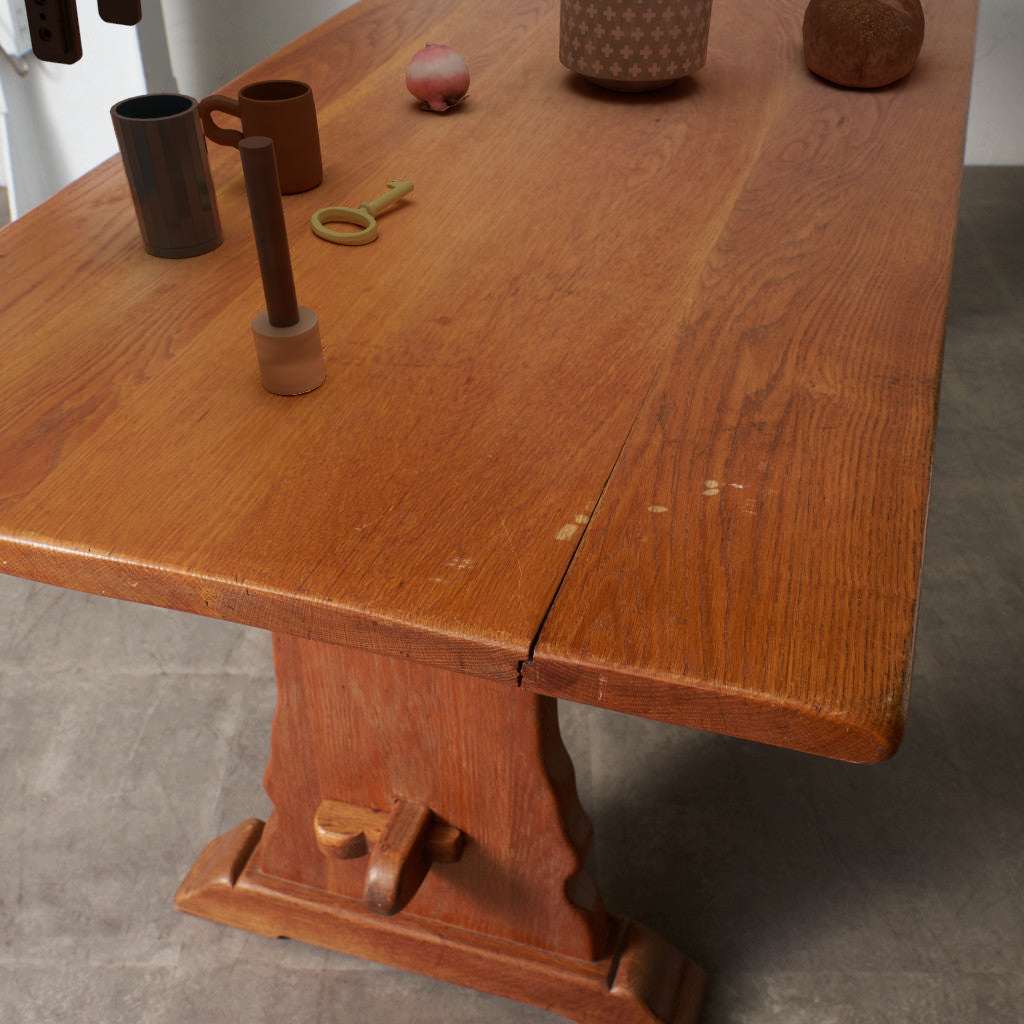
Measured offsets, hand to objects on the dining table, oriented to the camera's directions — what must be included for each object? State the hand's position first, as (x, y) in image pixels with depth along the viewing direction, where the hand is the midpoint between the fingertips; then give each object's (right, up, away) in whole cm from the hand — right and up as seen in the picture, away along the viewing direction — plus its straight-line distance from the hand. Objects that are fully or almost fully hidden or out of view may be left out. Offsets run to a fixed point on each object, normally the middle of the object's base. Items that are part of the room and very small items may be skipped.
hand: (92, 41), depth 53 cm
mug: (-4, +10, +54) cm, 55 cm away
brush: (+6, -15, +23) cm, 28 cm away
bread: (+70, +38, +87) cm, 118 cm away
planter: (+38, +32, +80) cm, 94 cm away
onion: (+13, +26, +73) cm, 78 cm away
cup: (-9, +1, +42) cm, 43 cm away
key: (+8, +3, +46) cm, 47 cm away
